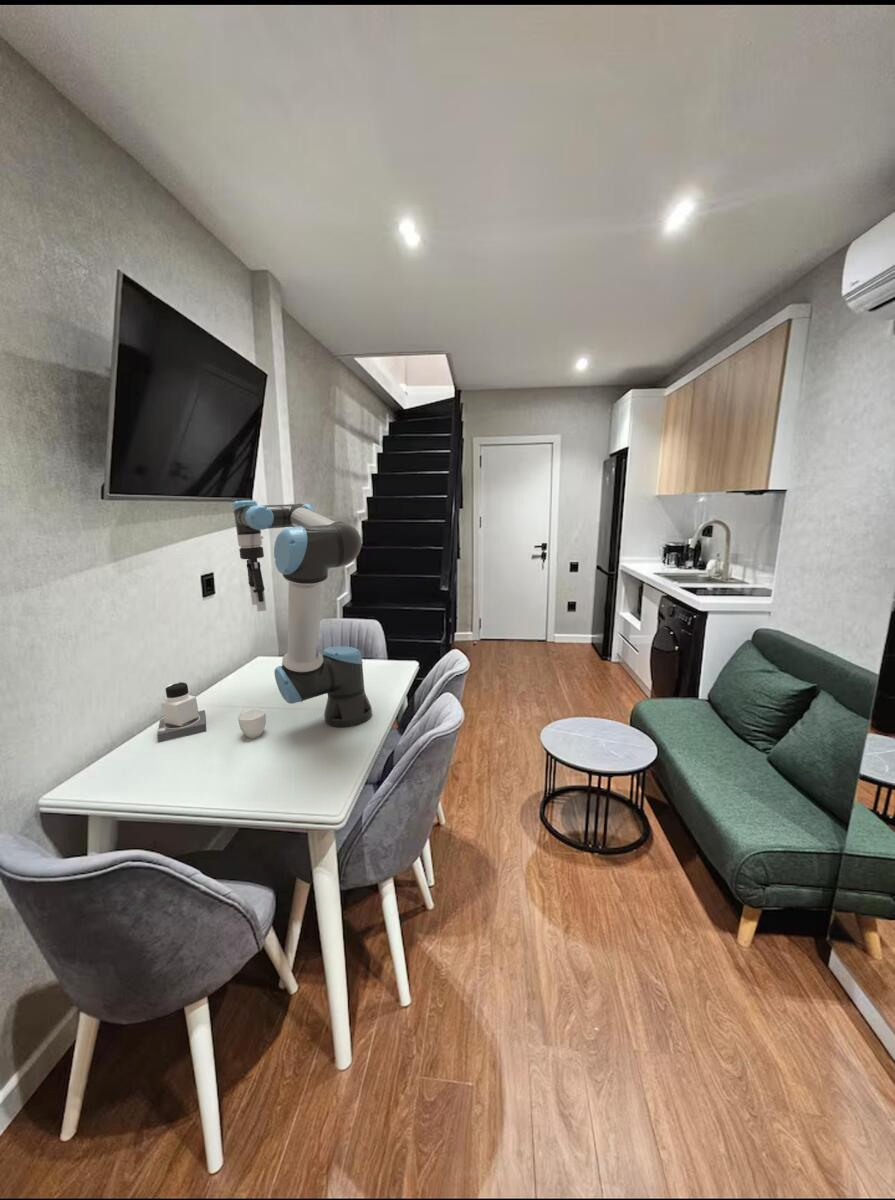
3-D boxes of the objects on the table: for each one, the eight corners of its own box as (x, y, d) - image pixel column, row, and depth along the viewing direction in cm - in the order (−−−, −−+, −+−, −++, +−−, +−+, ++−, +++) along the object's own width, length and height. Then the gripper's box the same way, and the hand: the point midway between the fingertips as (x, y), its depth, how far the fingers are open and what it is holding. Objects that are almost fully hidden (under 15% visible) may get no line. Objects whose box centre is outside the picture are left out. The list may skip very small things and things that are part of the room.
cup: (237, 742, 141) (234, 721, 139) (246, 726, 150) (244, 707, 149) (264, 739, 142) (261, 718, 140) (272, 724, 151) (269, 704, 150)
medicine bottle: (199, 716, 152) (193, 681, 150) (179, 726, 146) (172, 689, 144) (184, 714, 155) (178, 679, 153) (164, 723, 149) (157, 687, 147)
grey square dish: (206, 731, 149) (204, 721, 148) (158, 742, 143) (156, 732, 142) (205, 716, 159) (204, 707, 159) (161, 726, 153) (159, 717, 153)
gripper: (268, 547, 152) (276, 611, 156) (257, 544, 174) (264, 600, 178) (243, 549, 149) (252, 615, 153) (235, 545, 170) (243, 603, 174)
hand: (259, 607), depth 165 cm, fingers open, 13 cm apart
